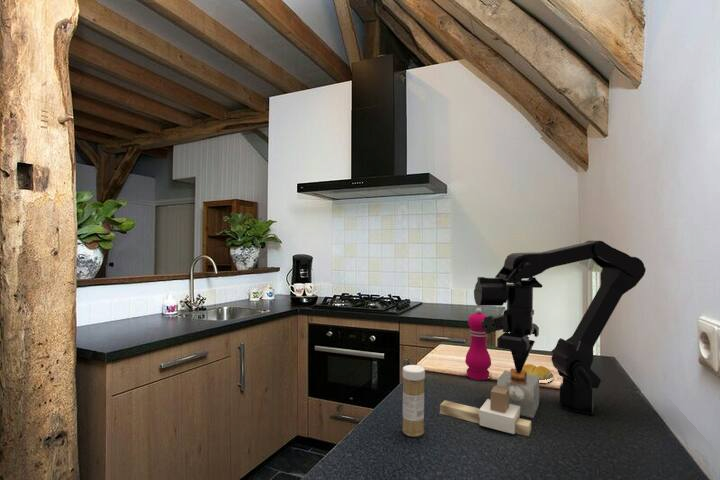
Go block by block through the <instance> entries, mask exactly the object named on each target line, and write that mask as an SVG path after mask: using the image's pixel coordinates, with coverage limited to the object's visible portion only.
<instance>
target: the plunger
mask: <svg viewBox="0 0 720 480" xmlns="http://www.w3.org/2000/svg"><path fill="white" fill-rule="evenodd" d="M510 371H511V378H513V379H514V380H519V381H524V380H526V379H527V372H526V371H525V370H522V371H521V372H518V371H516V368H511V369H510Z"/></svg>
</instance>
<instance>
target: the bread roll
mask: <svg viewBox="0 0 720 480" xmlns="http://www.w3.org/2000/svg"><path fill="white" fill-rule="evenodd" d="M522 370H525V371H526V372H527V375H533V376H538V377H539V380H545V379H546V380H547V379H550V378H552V377H553V378H554V374H553V372H552V371H551V370H550V369H549V368H548V367H546V366H543V365H539V366H536V365H534V364H532V363H525V364H524V367H523V369H522Z"/></svg>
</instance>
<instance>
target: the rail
mask: <svg viewBox="0 0 720 480" xmlns="http://www.w3.org/2000/svg"><path fill="white" fill-rule="evenodd" d="M479 409H480V408H479V407H476V406H470V405H466V404H461V403H457V402H453V401H450V400H445V399H444V400H443V402H441V403H440V404H439V414H440V415H444V416H448V417H451V418H456V419H460V420H463V421H468V422H471V423H475V424H479V425H480V417H479ZM531 432H532V420H529V419H524V418H520V417H519V418H517V420H516V422H515V433H514V434H518V435H521V436H525V437H530V434H531Z"/></svg>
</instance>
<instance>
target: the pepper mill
mask: <svg viewBox="0 0 720 480" xmlns="http://www.w3.org/2000/svg"><path fill="white" fill-rule="evenodd" d="M482 312H483V310H482V308H480V307H476V309H475V313H472V314H471V315H469V317H468V319H467V325H468V326H469V328H470V329H469V336H470V339H471V341H470V346H469V348H468V350H467V352H466V355H465V360H464V361H465V364H466V366H467V367H468V368H467V369H466V376H467V377H468V378H469V379H472V380H476V381H477V380H478V381H487V380H489V378H490V370H488V369H489V368H490V367H491V365H492V359H491V355H490V353H489V351H488V349H487V342H486V340H487V337H488V334H486V333H485V330H484V329H483V328H482V321H483V320H484V317H488V316H487V315H485V314H484V313H482ZM488 377H489V378H488Z"/></svg>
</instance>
